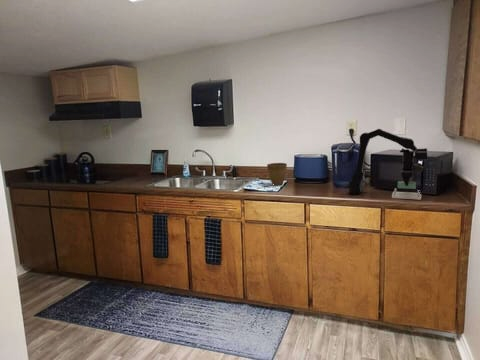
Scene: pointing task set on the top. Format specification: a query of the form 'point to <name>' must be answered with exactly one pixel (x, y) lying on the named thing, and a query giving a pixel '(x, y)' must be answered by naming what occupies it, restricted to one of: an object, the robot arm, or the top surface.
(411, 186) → the circuit board
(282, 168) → the plant pot
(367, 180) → the mechanical component
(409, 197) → the chassis plate
